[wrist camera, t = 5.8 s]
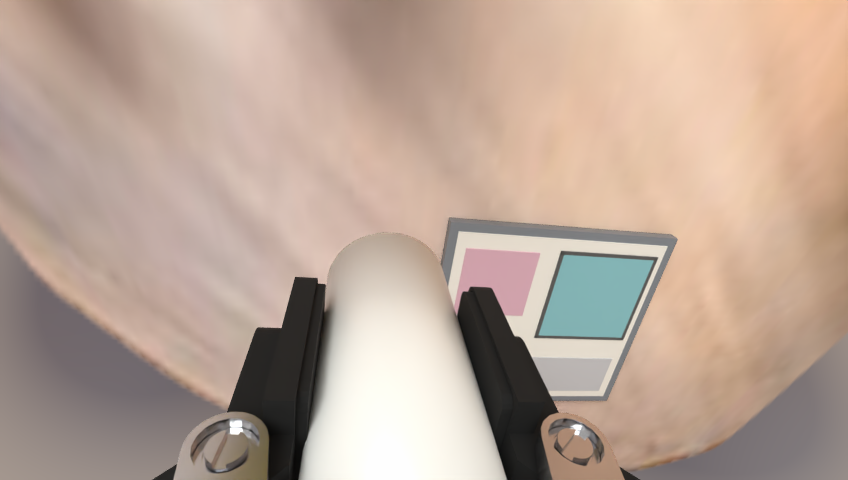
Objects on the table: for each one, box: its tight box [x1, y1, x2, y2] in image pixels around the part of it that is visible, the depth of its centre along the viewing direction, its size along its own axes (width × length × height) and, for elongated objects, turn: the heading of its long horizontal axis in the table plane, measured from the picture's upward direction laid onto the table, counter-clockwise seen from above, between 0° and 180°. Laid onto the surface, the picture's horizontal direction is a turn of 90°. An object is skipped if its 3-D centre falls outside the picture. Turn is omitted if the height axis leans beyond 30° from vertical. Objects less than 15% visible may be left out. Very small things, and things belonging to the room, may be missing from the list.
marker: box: [299, 233, 507, 480], centre depth 9 cm, size 4×4×11 cm
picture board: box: [441, 218, 678, 401], centre depth 38 cm, size 19×18×1 cm
